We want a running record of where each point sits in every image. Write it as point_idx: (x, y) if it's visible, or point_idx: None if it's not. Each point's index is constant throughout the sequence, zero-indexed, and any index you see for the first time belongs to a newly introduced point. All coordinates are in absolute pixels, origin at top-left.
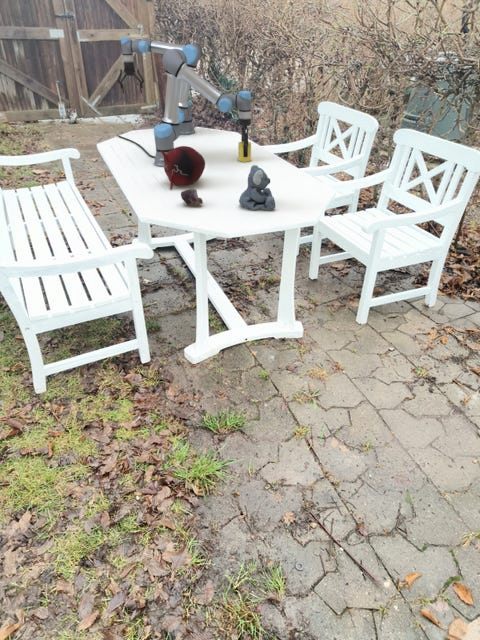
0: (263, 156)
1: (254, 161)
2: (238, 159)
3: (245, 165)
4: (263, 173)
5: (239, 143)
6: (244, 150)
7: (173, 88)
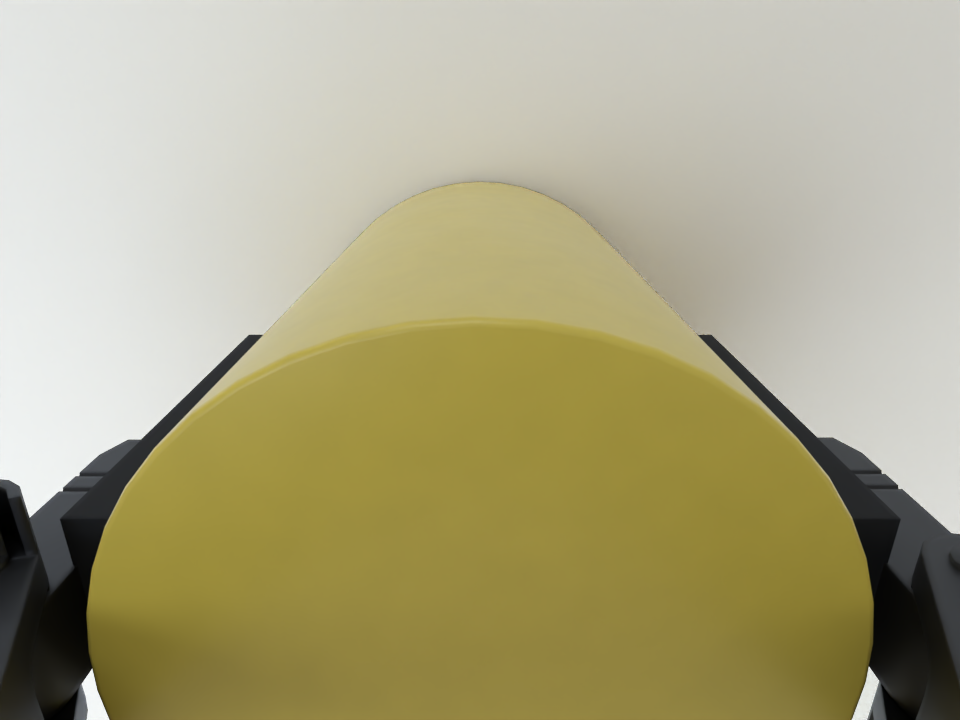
0: None
1: None
2: (474, 184)
3: (38, 303)
4: None
5: (382, 384)
6: None
7: None
